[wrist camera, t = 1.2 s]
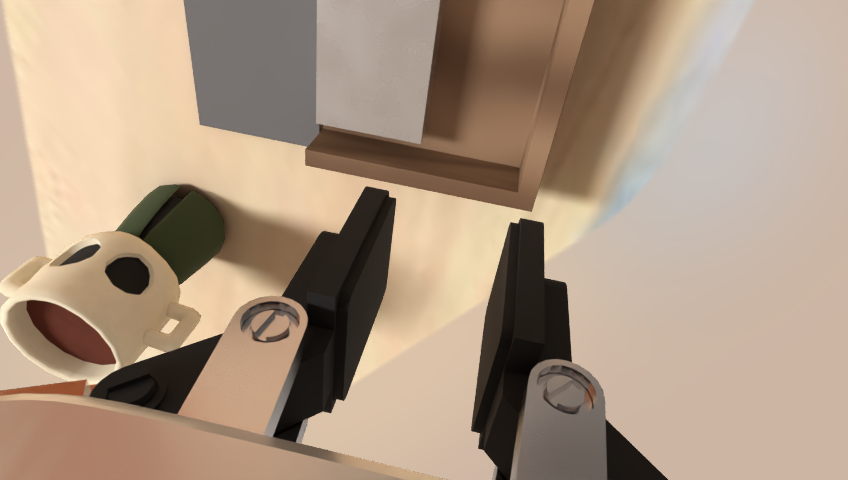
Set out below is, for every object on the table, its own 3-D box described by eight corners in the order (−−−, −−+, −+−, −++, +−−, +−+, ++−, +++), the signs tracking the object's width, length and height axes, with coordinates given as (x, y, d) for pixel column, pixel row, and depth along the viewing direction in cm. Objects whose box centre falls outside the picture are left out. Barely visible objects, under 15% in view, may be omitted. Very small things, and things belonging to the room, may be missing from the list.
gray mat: (162, -192, 25) (158, -193, 25) (324, -167, 24) (322, -167, 24) (202, 122, 34) (199, 124, 34) (320, 146, 34) (319, 148, 33)
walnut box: (334, -144, 25) (303, -147, 21) (611, -99, 24) (622, -95, 21) (328, 136, 33) (305, 165, 30) (532, 177, 32) (531, 211, 29)
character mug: (264, 204, 37) (155, 334, 27) (255, 276, 41) (157, 413, 31) (116, 152, 37) (-52, 262, 26) (122, 230, 41) (-22, 352, 31)
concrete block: (331, -87, 25) (317, -85, 24) (454, -67, 25) (448, -62, 23) (327, 110, 31) (316, 123, 29) (426, 129, 31) (420, 144, 29)
